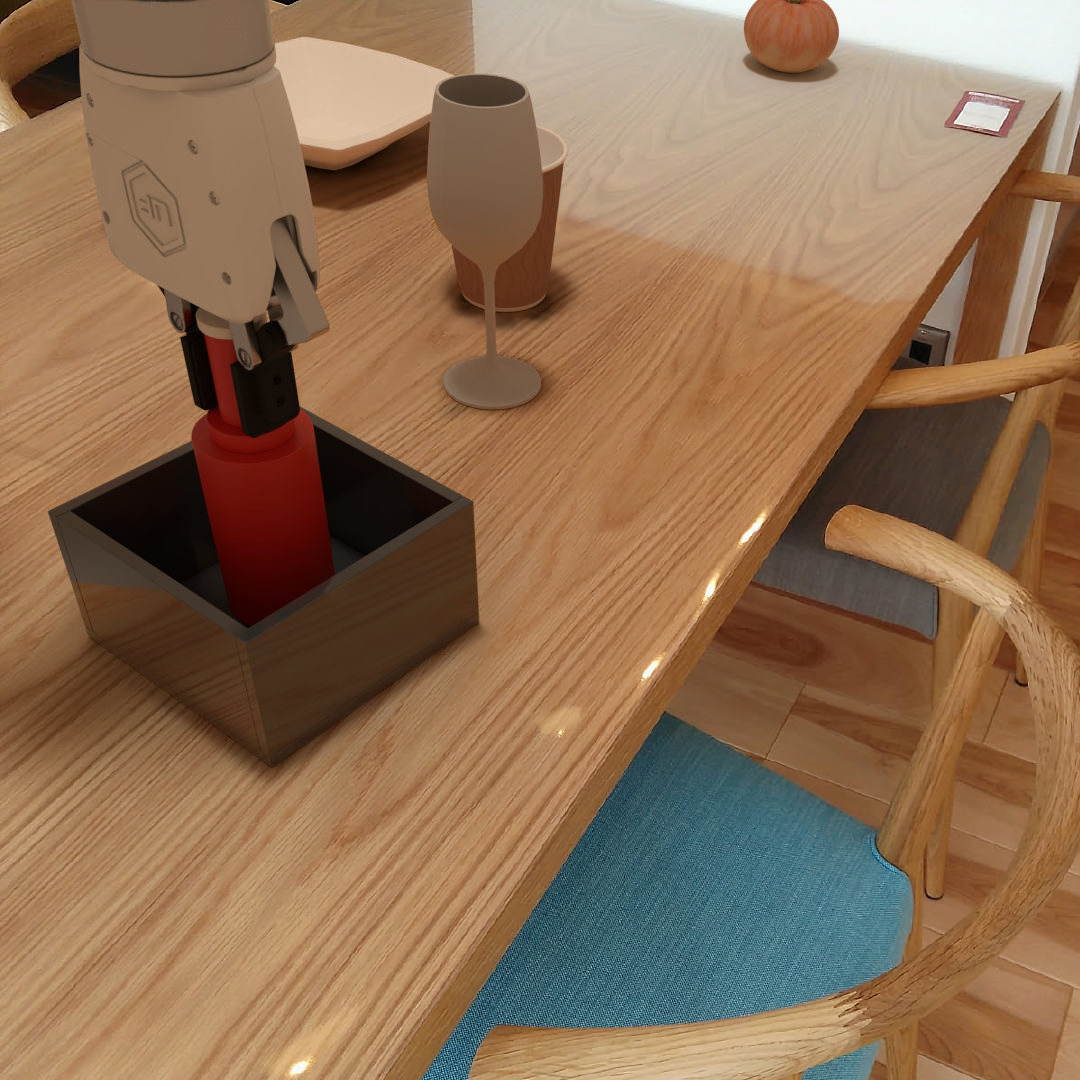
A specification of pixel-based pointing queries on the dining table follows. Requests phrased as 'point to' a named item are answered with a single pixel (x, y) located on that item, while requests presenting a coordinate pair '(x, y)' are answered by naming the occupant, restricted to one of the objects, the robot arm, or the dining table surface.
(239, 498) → the bottle
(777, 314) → the dining table surface
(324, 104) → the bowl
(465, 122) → the wineglass
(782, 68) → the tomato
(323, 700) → the dark square storage bin
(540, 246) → the coffee cup
